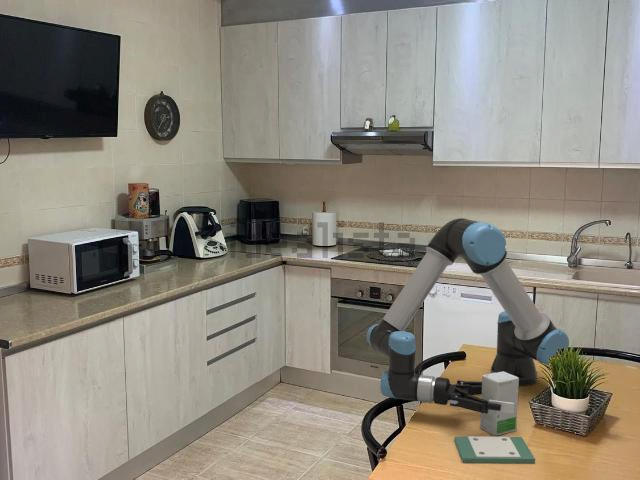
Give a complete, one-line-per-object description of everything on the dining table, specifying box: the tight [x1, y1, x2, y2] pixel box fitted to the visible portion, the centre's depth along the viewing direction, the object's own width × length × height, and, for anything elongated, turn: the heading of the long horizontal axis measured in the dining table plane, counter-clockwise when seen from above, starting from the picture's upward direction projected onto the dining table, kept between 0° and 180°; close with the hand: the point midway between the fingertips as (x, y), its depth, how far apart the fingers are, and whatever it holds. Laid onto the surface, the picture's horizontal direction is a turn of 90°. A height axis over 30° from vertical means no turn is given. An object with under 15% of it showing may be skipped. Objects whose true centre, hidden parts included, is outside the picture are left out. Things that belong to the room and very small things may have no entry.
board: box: [453, 435, 536, 464], centre depth 169 cm, size 18×12×2 cm, turn 89°
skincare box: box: [479, 371, 520, 437], centre depth 181 cm, size 8×7×16 cm
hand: (515, 400), depth 180 cm, fingers closed on skincare box, 10 cm apart
